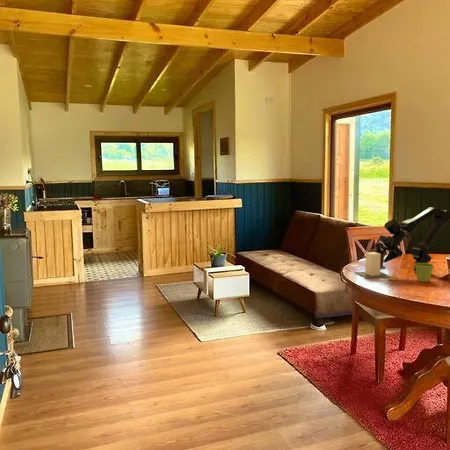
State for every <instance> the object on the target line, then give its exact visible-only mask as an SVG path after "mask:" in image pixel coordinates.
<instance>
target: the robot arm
mask: <svg viewBox="0 0 450 450" xmlns="http://www.w3.org/2000/svg"><path fill="white" fill-rule="evenodd" d="M431 217H433V222H432V223H431V225H430V227H429V229H428V230H427V231H426V233H425V235H424V237H423V238H422V240H421V241H420V242H418V243H417V242H415V243H414V245H413V247H411V255H412V258H413V260H414V261H415V262H414V264H415V263H429V262H431V260H432V257H431V255H429V252H430V245H431V244H432V242H433V241H434V239H435V237H436V236H437V234H438V233H439V232H440V230H441V228H442V227H443V226H445V225H446V224H447V223H448V222H449V221H450V210H444V209H439V208H436V207H431V206H430V207H427V208H426V209H425V210H423V211H422V212H421V213H419V214H417V215H416V216H414V217H412V218H409V219H406V220H404V221H401V222H400V223H398V222H397V220H396V219H395V218H392V219H390V220H388V221H387V222H385V223H384V225H383V227H384V228H385V230H386V231H387V232H388V233H389V234H390V235H392V236H390V235H386V236H385V235H379V238H378V239H377V240H378V241H377V242H375V244H374V248H375V249H376V253H380V254H381V255H382V254H385V252H387V251H388V254H387V255H386V256H385V257H384V261H383V264H384V263H387V262H390V261H392V260H394V259H396V258H399V257H400V258H401V257H402V256H403V255H404V252H403V250H401V249H400V246H401V245H402V244H401V243H402V242H403V241H404V239H406V240H409V239H410V237H409V234H408V233H413V232H414V231H415V230H416V229H417V227H418V226H419V225H420V224H422V223H423V222H425V221H427V220H428V219H430V218H431ZM413 266H414V268H413V271H416V268H415V265H413Z"/></svg>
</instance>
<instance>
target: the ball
mask: <svg viewBox="0 0 450 450" xmlns="http://www.w3.org/2000/svg"><path fill="white" fill-rule="evenodd" d="M390 276H391V278H390V280H391V281H393V282H394V281H397V278H398V277H397V276H396V275H395V274H392V275H390Z"/></svg>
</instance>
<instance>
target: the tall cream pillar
mask: <svg viewBox="0 0 450 450" xmlns="http://www.w3.org/2000/svg"><path fill="white" fill-rule="evenodd" d="M367 252H368V251H367ZM367 252H365V268H364V272H365V274H368V275H370V276H375V275H380V271H381V267H380V257H381V254H380V253H376V252H368V253H367Z"/></svg>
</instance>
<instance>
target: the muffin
mask: <svg viewBox="0 0 450 450" xmlns="http://www.w3.org/2000/svg"><path fill="white" fill-rule="evenodd" d="M368 252H376V248H373V249H372V248H371V249H370V250H367V252H366V253H368ZM385 258H386V254H385V253H384V254H382V255H381V257H380V268H381V267H383V265H384V262H383V261H384V259H385Z"/></svg>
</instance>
